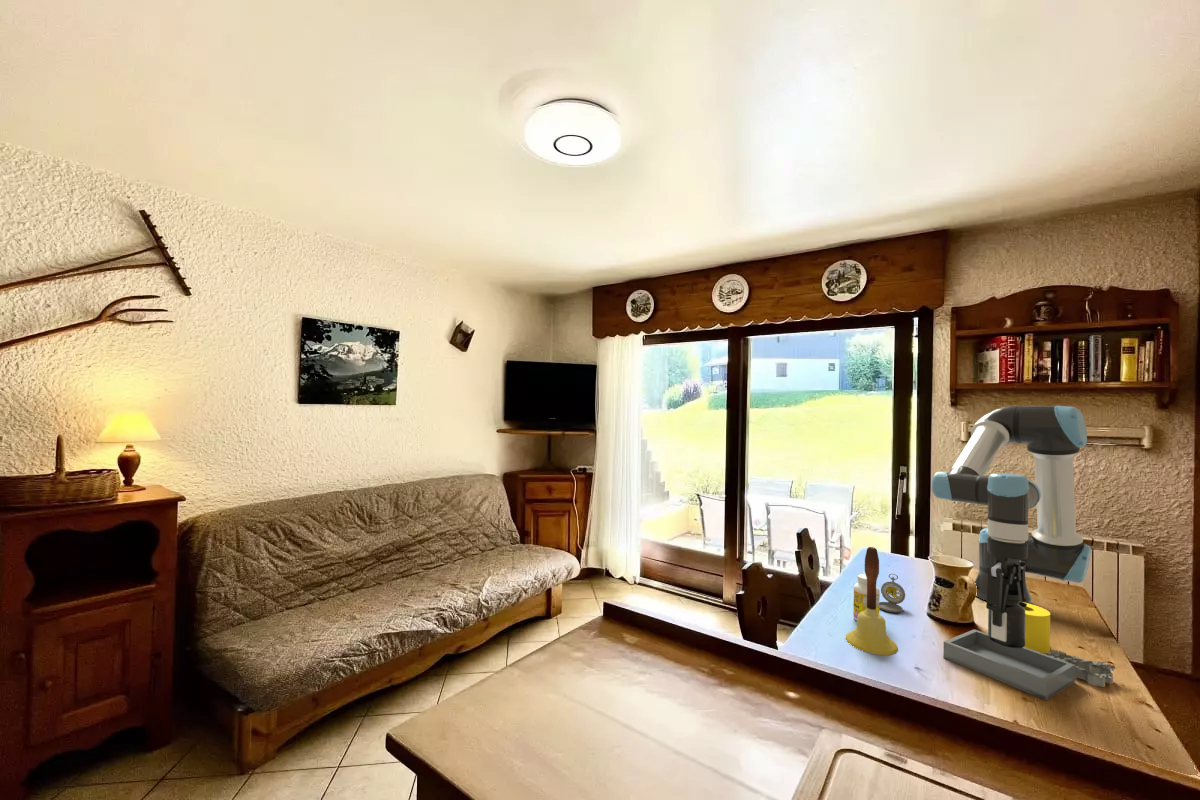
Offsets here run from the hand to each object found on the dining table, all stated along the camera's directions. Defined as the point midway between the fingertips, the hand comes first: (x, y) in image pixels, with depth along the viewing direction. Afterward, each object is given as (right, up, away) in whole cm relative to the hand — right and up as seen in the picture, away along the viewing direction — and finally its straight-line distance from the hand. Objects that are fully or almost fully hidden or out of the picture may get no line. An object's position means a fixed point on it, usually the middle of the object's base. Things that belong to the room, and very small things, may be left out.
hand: (1006, 635), depth 118 cm
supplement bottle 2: (0, -2, 0) cm, 2 cm away
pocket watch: (-7, -9, +35) cm, 37 cm away
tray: (0, -8, 0) cm, 8 cm away
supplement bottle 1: (-20, -8, +26) cm, 33 cm away
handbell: (-26, -8, +12) cm, 29 cm away
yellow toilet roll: (+16, -9, +13) cm, 23 cm away
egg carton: (+16, -9, -1) cm, 18 cm away
